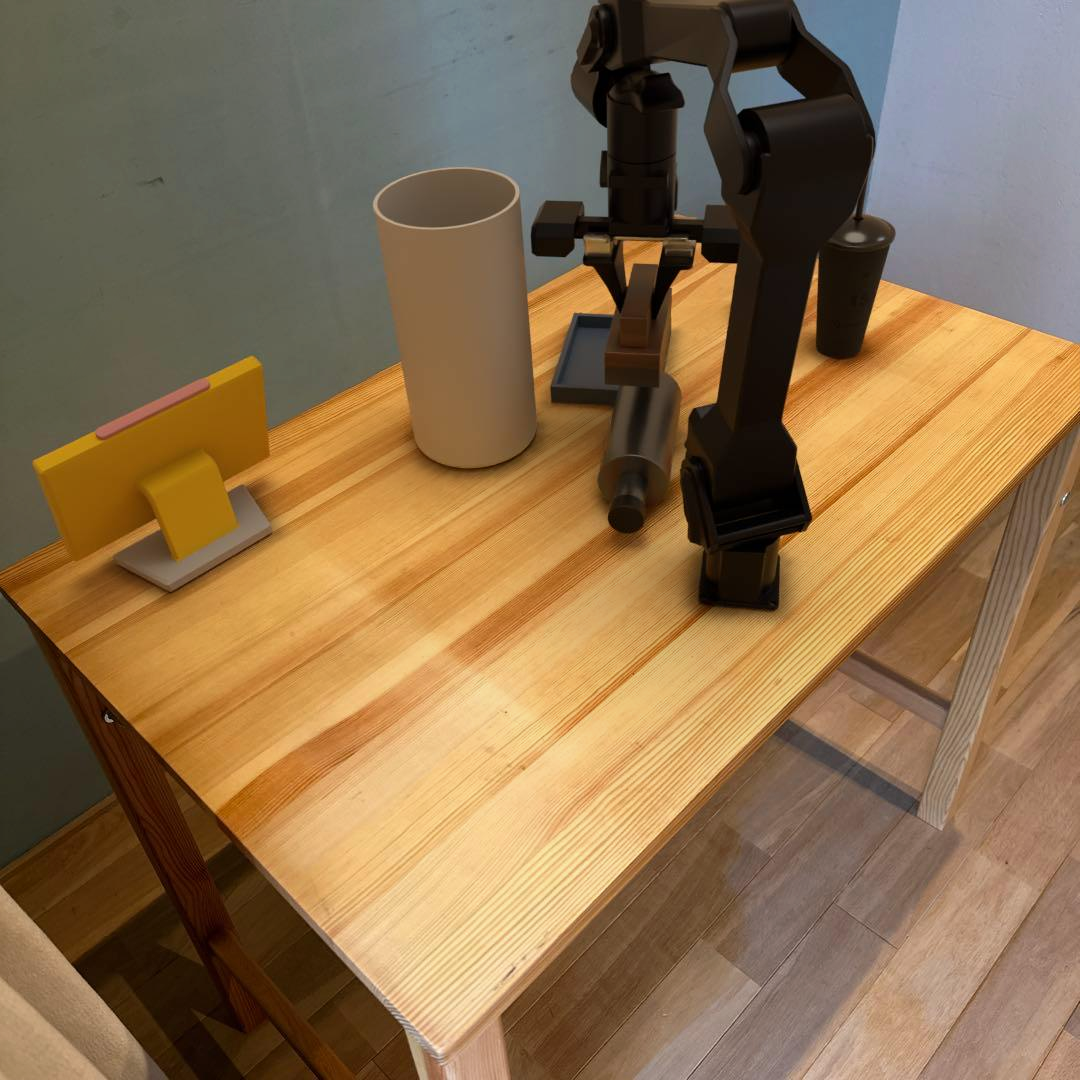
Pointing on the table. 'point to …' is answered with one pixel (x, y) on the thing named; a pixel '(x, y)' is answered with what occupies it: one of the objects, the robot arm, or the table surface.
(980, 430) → the table surface
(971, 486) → the table surface
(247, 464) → the yellow framed monitor
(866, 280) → the drinking cup
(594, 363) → the tray
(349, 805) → the table surface
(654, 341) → the scrub brush
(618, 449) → the bottle
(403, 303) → the cylinder vase
